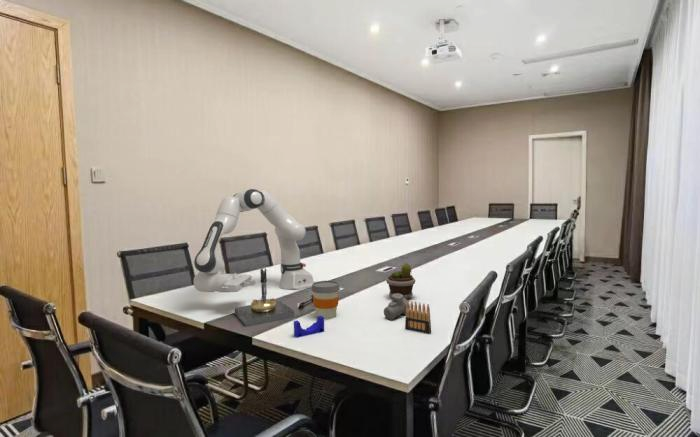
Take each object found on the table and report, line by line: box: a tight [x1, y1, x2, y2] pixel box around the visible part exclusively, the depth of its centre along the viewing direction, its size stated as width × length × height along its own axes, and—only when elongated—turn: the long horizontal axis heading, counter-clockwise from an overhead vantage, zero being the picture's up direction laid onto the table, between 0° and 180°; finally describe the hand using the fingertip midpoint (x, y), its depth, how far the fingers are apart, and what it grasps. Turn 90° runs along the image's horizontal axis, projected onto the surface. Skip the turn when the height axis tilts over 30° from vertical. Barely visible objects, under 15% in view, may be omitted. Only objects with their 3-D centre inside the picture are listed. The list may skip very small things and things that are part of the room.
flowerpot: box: [385, 262, 416, 301], centre depth 205 cm, size 14×15×20 cm
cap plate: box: [233, 300, 295, 327], centre depth 181 cm, size 22×20×3 cm
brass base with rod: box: [250, 267, 277, 312], centre depth 183 cm, size 17×11×17 cm, turn 10°
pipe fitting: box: [383, 293, 411, 320], centre depth 176 cm, size 12×8×10 cm
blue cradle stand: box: [293, 316, 325, 339], centre depth 158 cm, size 12×4×6 cm, turn 120°
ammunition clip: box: [404, 300, 432, 335], centre depth 158 cm, size 11×2×12 cm, turn 56°
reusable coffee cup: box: [311, 280, 340, 320], centre depth 179 cm, size 13×12×15 cm
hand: (254, 283), depth 191 cm, fingers closed
